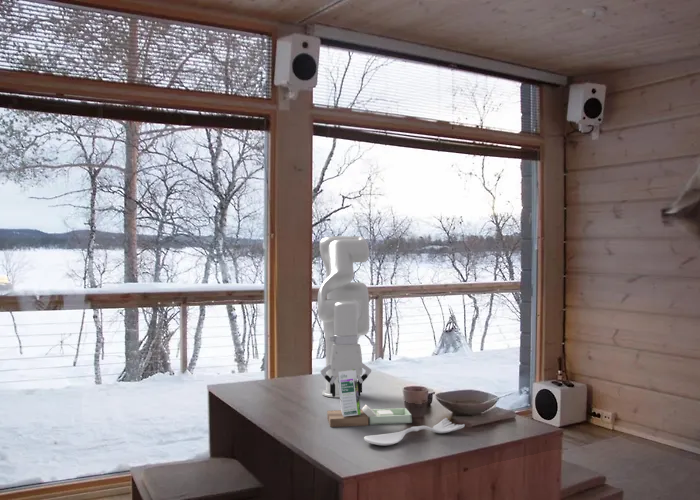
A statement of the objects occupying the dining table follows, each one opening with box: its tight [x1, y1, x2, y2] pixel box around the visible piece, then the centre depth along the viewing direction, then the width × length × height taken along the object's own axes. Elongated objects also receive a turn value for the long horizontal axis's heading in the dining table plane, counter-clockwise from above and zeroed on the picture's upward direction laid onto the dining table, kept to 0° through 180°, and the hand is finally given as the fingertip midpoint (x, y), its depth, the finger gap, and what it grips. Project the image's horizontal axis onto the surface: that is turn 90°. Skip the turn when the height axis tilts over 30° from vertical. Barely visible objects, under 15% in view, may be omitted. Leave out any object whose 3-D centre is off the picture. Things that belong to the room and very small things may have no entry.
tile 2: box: [377, 410, 393, 416], centre depth 205 cm, size 4×4×2 cm
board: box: [326, 408, 369, 428], centre depth 202 cm, size 10×12×2 cm
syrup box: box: [337, 369, 361, 417], centre depth 201 cm, size 6×6×14 cm
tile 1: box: [361, 404, 377, 417], centre depth 202 cm, size 4×4×2 cm
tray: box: [368, 407, 413, 426], centre depth 204 cm, size 9×14×2 cm, turn 98°
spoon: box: [363, 417, 465, 447], centre depth 185 cm, size 9×32×4 cm, turn 120°
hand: (346, 395), depth 202 cm, fingers open, 7 cm apart
